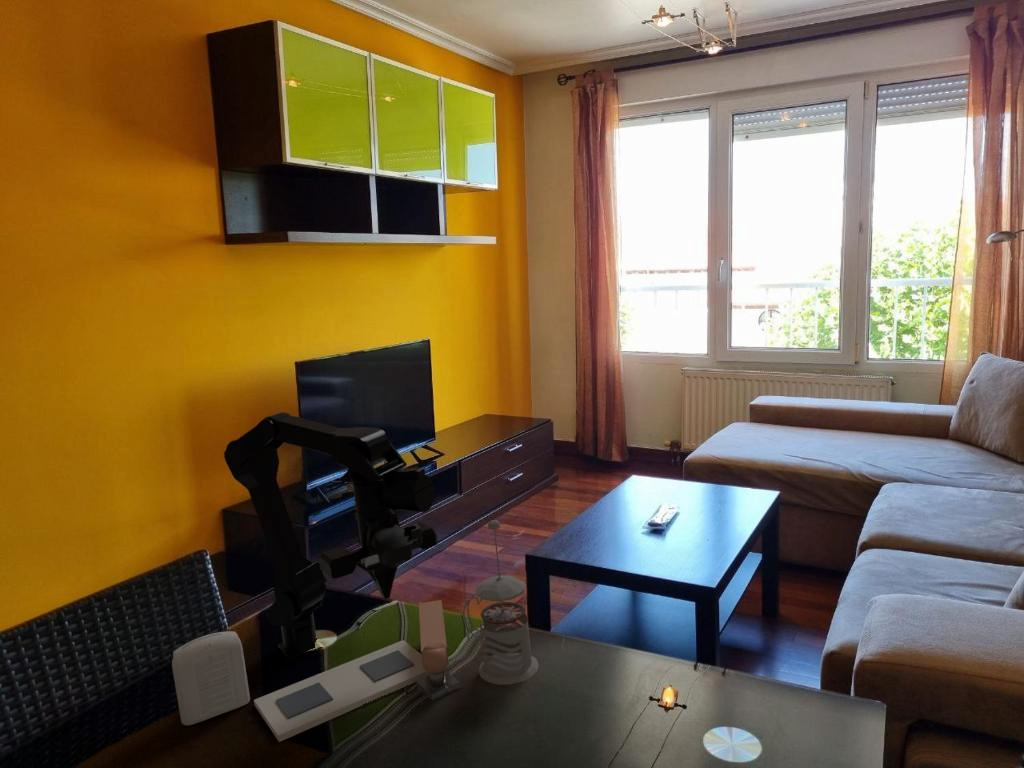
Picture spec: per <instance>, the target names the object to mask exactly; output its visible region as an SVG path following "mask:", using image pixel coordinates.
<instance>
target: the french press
mask: <svg viewBox="0 0 1024 768" xmlns="http://www.w3.org/2000/svg"><path fill="white" fill-rule="evenodd" d="M487 528H488V530H493V535H494V542H495V543H494V544H495V545H494V546H495V554H496V555H495V556H496V562H497V571H498V572H497V573H498V575H496V576H492V577H488V578H486V579H485V580H483V581H482V582H481V583H479V584H477V586H476V588H475V590H474V591H475V593H474V594H472V595H471V596H470V597H469V598H468V600H467V601H466V602H465V603H464V606H463V608H462V609H463V610H462V617H463V618H462V619H463V623H464V626H465V628H466V629H467V631H468V632H469V634H470V635H472V636H473V637H475V638H476V639H478V640H479V641H480V644H481V652H482V658H483V661H482V662H481V664H480V666H479V668H478V674H479V676H480V678H481V679H483V680H484V681H485V682H487V683H491V684H494V685H500V686H501V685H513V684H517V683H522V682H524V681H526V680H529V679H530V678H532V677H533V676H534V675H535V674H536V673H537V672H538V670H539V665H540V664H539V661H538V660H537V658H536V657H535V656H533V655H532V651H531V650H532V649H531V639H530V628H529V620H528V619H529V618H528V616H527V614H526V613H525V612H526V608H525V606H524V605H523V604H520V603H519V602H515V601H513V602H512V601H510V600H514V599H515V598H518V597H520V596H521V595H523V594H524V592H525V590H526V588H527V584H526V583H525V582H524V581H523V580H522V579H519V578H516V577H514V576H512V575H505V574H504V575H500V574H501V573H500V564H499V554H498V544H497V542H498V541H497V534H496V530H498V529H500V528H501V523H500V521H498V520H497V519H492V520H490V521H489V522H488V523H487ZM479 598H480V600H479ZM473 599H475V600H476V603H477V605H480V604H481V603H482V601H483V600H484V601H490V602H495V603H492V604H489V605H487V606H486V607H484V608H483V609H482V610H481V612H480V617H481V620H480V621H479V629H478V628H477V627H476V626H475V625H474V623H473V622H472V620H471V619H472V618H471V617H470V609H469V607H470V602H471V601H472V600H473ZM465 610H466V611H467V612H466V613H467V617H468V620H469V623H470V624H471V627H472V628H474V630H476V631H477V632H479V634H480V637H479V636H477V635H475V634H474V633H473V632H472V631H471V630H470V628H469V627H468V625H467V621H466V618H465V617H466V616H465ZM517 621H519V622H521V623H522V624H523V625H522V624H520V623H519V622H517ZM482 622H483V625H482ZM507 624H512V625H513V624H514V625H515V626H510V625H507ZM500 625H505V626H503V627H500V628H499V629H496V628H498V627H499V626H500ZM482 626H483V627H482ZM517 627H518V628H517ZM505 631H506V632H505ZM498 642H500V643H498ZM519 642H520V643H519Z"/></svg>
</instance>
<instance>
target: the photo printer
mask: <svg viewBox="0 0 1024 768" xmlns="http://www.w3.org/2000/svg"><path fill="white" fill-rule="evenodd" d="M244 656H245V654H244V649H243V645H242V641H241V639H240V638H239V635H238V633H237V631H218V632H214V633H209V634H206V635H203V636H201V637H200V636H199V637H197V638H195V639H192V640H190V641H188V642H186V643H185V644H183V645H181V646H180V647H178V648H176V649H175V650H174V651H173V652H172V661H171V668H172V675H173V679H174V685H175V686H174V687H175V692H176V698H177V704H178V709H179V710H178V711H179V716H180V722H181V724H182V725H184V726H191V725H195V724H198V723H201V722H203V721H206V720H209V719H212V718H214V717H218V716H219V715H222V714H224V713H225V714H226V713H227V712H230V711H233V710H236V709H238V708H241V707H242V706H243V707H244V706H245V705H247V704H249V702H250V701H251V696H250V688H249V683H248V675H247V671H246V670H247V669H246V663H245V657H244Z"/></svg>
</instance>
